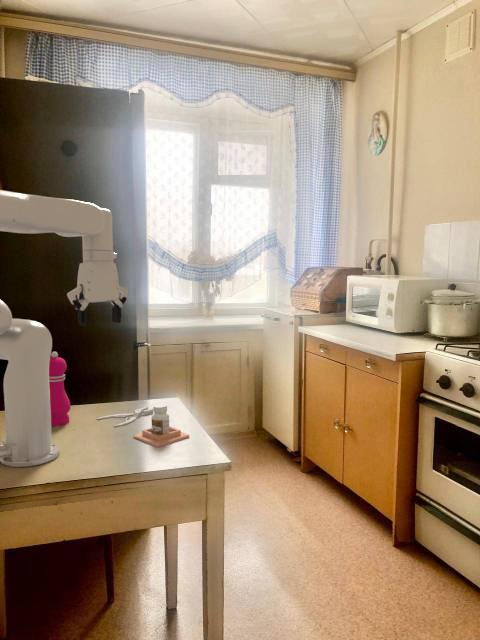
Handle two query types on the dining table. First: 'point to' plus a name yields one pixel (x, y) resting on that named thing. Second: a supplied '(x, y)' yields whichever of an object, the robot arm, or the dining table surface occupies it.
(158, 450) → the dining table surface
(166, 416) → the pill bottle
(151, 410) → the pliers
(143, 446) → the dining table surface
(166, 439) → the rest
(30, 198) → the robot arm
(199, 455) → the dining table surface
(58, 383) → the pepper mill
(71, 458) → the dining table surface
